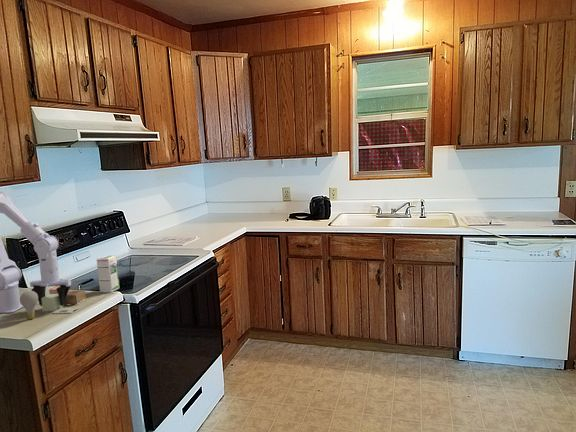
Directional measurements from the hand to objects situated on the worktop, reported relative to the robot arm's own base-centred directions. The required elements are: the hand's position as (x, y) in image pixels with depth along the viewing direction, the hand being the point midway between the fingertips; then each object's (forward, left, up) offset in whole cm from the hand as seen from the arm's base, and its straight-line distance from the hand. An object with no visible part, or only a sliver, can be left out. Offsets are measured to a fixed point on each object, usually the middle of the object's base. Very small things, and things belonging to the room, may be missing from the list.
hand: (53, 305), depth 156 cm
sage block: (0, 0, -2) cm, 2 cm away
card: (+7, -3, -1) cm, 7 cm away
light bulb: (-2, -10, -2) cm, 10 cm away
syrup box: (+11, +22, -2) cm, 25 cm away
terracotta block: (-4, +11, -2) cm, 12 cm away
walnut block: (+4, +7, -2) cm, 8 cm away
